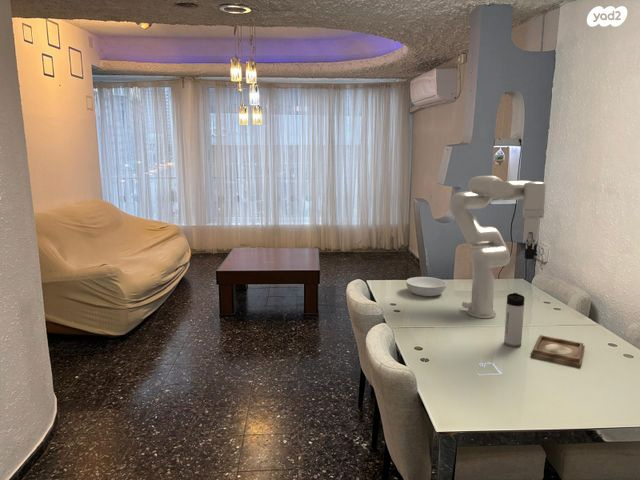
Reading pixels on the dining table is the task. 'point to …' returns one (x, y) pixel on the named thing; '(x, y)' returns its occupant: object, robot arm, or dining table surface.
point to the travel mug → (514, 320)
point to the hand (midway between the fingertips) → (530, 256)
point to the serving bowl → (426, 286)
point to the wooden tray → (558, 351)
